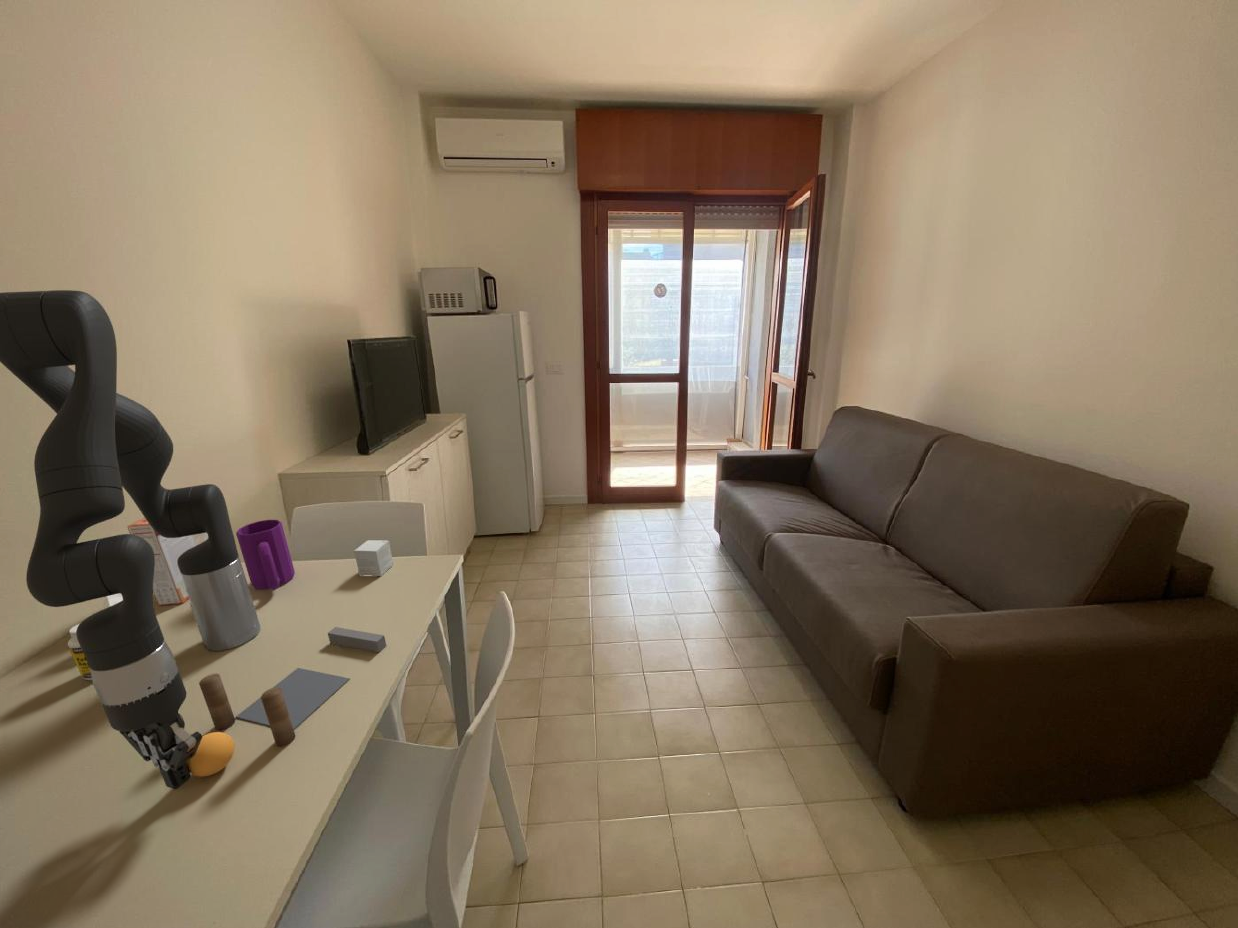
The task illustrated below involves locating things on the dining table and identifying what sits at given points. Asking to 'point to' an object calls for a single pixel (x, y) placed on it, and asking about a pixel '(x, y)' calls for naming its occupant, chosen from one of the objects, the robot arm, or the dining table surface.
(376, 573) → the product box
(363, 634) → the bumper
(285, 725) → the right post
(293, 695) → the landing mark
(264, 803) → the dining table surface
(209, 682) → the left post
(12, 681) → the dining table surface
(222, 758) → the ball
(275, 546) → the mug
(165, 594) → the cracker box
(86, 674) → the supplement bottle
